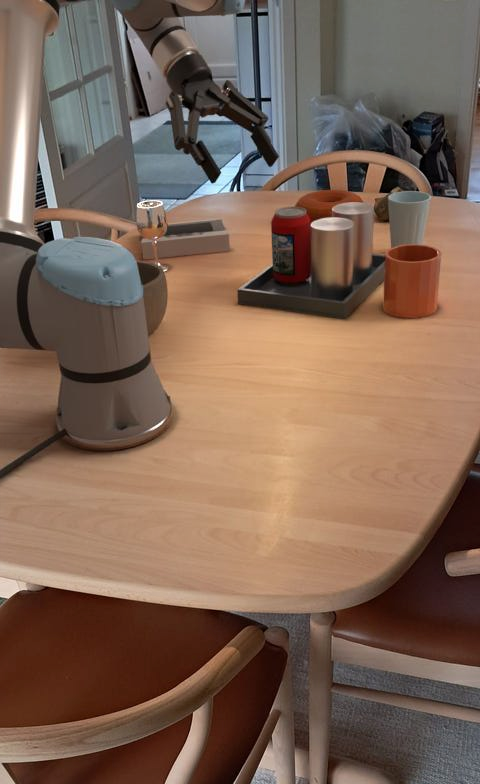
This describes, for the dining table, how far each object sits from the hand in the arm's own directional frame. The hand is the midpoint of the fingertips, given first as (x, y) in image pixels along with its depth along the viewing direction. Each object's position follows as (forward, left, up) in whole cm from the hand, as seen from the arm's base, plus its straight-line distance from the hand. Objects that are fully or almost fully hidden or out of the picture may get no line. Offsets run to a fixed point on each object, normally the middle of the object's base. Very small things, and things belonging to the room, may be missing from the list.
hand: (246, 170), depth 144 cm
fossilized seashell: (+39, -15, -18) cm, 45 cm away
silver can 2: (+1, -20, -17) cm, 26 cm away
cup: (+18, -24, -18) cm, 35 cm away
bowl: (-33, +7, -18) cm, 39 cm away
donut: (+33, -2, -18) cm, 37 cm away
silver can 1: (-8, -20, -17) cm, 27 cm away
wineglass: (-4, +18, -18) cm, 26 cm away
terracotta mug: (-6, -33, -18) cm, 38 cm away
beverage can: (-3, -10, -17) cm, 20 cm away
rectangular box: (+11, +21, -18) cm, 30 cm away
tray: (-3, -15, -18) cm, 24 cm away
